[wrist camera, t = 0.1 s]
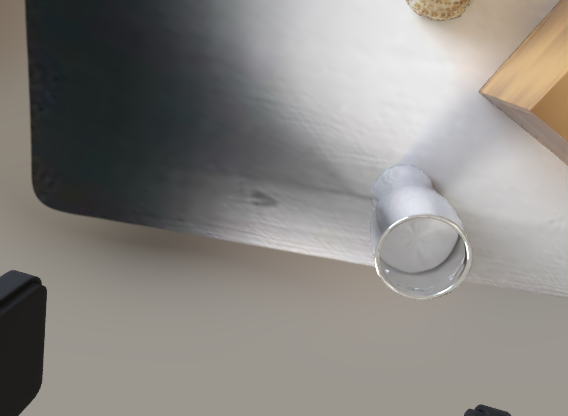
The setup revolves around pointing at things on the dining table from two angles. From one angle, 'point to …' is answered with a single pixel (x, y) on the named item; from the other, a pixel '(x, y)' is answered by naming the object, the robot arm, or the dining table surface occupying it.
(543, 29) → the chest
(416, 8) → the seashell
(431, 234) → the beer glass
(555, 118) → the lid
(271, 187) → the dining table surface
